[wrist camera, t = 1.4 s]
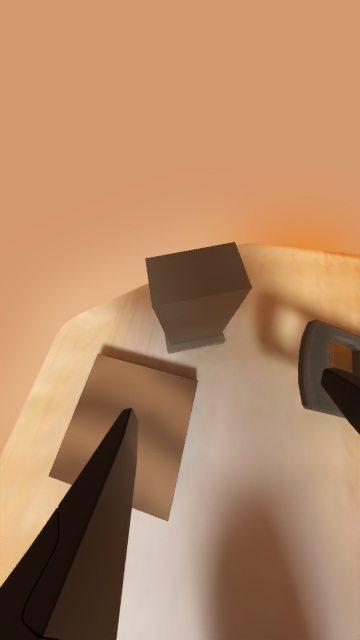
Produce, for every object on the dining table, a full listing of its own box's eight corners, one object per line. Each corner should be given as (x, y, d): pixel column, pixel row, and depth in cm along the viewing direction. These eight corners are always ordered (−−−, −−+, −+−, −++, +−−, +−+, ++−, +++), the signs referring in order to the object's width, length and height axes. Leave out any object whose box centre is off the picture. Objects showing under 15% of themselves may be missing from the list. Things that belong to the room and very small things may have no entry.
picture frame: (223, 342, 22) (264, 297, 10) (168, 353, 22) (145, 320, 10) (213, 306, 24) (238, 232, 12) (162, 316, 23) (136, 250, 12)
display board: (169, 509, 17) (168, 521, 15) (59, 468, 18) (48, 476, 17) (197, 380, 21) (197, 380, 19) (103, 355, 22) (97, 354, 21)
